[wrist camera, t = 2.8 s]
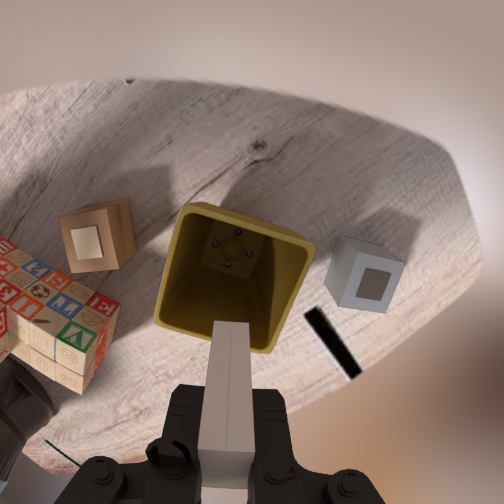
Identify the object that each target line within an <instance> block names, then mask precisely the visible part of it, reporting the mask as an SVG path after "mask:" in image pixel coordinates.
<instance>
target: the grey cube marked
mask: <svg viewBox="0 0 504 504" xmlns="http://www.w3.org/2000/svg"><path fill="white" fill-rule="evenodd" d="M405 264H406V263H405V262H403V261H402V260H401V259H399V258H398V257H397V256H395V255H394V254H392V253H391V252H390V251H388V250H387V249H386V248H384V247H383V246H380V245H376V244H372V243H368V242H365V241H361V240H357V239H353V238H349V237H345V236H341V235H339V237H338V240H337V243H336V246H335V249H334V253H333V256H332V259H331V262H330V265H329V268H328V271H327V274H326V277H325V280H324V284H325V286H326V287H327V289H328V290H329V292H330V294H331V295H332V297H333V299H334V300H335V302H336V304H337V305H338V307H344V308H351V309H357V310H364V311H371V312H378V313H386V311H387V309H388V306H389V304H390V302H391V299H392V297H393V295H394V292H395V290H396V287H397V285H398V282H399V280H400V277H401V275H402V272H403V269H404V267H405Z"/></svg>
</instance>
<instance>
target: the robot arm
mask: <svg viewBox="0 0 504 504" xmlns="http://www.w3.org/2000/svg"><path fill="white" fill-rule="evenodd" d="M53 412H54V410H53V406H52V403H51V401H50V399H49V397H48V396H47V394H46V392H45V391H44V390H43V388H42V387H41V386H40V385H39V383H38V382H37V381H36V380H35V379H34V378H33V377H32V376H31V375H30V374H29V373H28V372H27V371H26V370H25V369H24V368H23V367H21V366H20V365H19V364H18V363H16V362H15V361H13V360H12V359H10V358H8V357H6V358H5V359H4V360H3V361H2V362H1V363H0V494H1V492H2V490H3V489H4V487H5V485H7V483H8V482H7V481H8V478H9V476H10V474H11V472H12V469H13V467H14V465H15V463H16V461H17V459H18V457H19V455H20V453H21V451H22V449H23V447H24V445H25V444H26V442H27V440H28V439H29V438H30V437H31V436H33V435H34V434H35V433H36V432H37V431H38V430H40V429H41V428H42V427H44V426H46V425H47V424H48V423H49V421H50V419H51V417H52V416H53ZM145 452H146V455H147V457H148V460H146V461H144V462H140V463H129V464H119V463H117V462H116V461H115V460H113V459H112V458H109V457H106V456H95V457H92V458H89V459H88V460H87V461H85V462H84V463H83V464H82V466H81V467H80V468H79V470H78V471H77V472H76V474H75V475H74V477H73V478H72V479H71V481H70V482H69V483H68V485H67V486H66V488H65V489H64V490H63V492H62V493H61V494H60V496H59V497H58V499H57V500H56V501H55V502H54V504H201V487H212V488H228V489H247V488H248V501H247V504H385V502H384V501H383V499H382V498H381V496H380V495H379V493H378V492H377V490H376V489H375V487H374V486H373V484H372V483H371V481H370V480H369V478H368V477H367V476H366V475H365V474H364V473H362V472H360V471H358V470H353V469H346V470H341V471H339V472H337V473H335V474H333V475H328V474H322V473H316V472H312V471H309V470H307V469H304V468H303V467H302V466H300V465H299V464H298V463H297V461H296V460H295V458H294V455H293V450H292V444H291V438H290V431H289V425H288V422H287V413H286V407H285V401H284V398H283V397H282V395H281V394H280V393H279V391H278V390H277V389H252V380H251V359H250V337H249V323H240V322H225V321H214V326H213V333H212V340H211V347H210V354H209V361H208V369H207V376H206V384H205V386H194V385H185V384H179V385H178V387H177V388H176V389H175V390H174V391H173V392H172V395H171V399H170V403H169V407H168V411H167V415H166V419H165V424H164V428H163V432H162V437H161V438H158V439H155V440H154V441H153V442H151V443H150V444H149V445H148V447H147V449H146V451H145Z"/></svg>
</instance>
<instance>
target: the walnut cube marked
mask: <svg viewBox="0 0 504 504" xmlns="http://www.w3.org/2000/svg"><path fill="white" fill-rule="evenodd" d="M58 220H59V225H60V229H61V234H62V238H63V243H64V247H65V251H66V255H67V258H68V262H69V266H70V269H71V273H82V272H93V271H104V270H115V269H120V268H121V267H122V266H123V265H124V263H125V262H126V261H127V260H128V259H129V258H130V257H131V256H132V255H133V254H134V253H135V252H136V251H137V250H138V249H137V244H136V239H135V234H134V228H133V223H132V217H131V212H130V205H129V199H123V200H117V201H111V202H106V203H100V204H95V205H90V206H85V207H82V208H80V209H77V210H75V211H73V212H70V213H68V214H66V215H63V216H61V217H59V218H58Z"/></svg>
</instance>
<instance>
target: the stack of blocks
mask: <svg viewBox="0 0 504 504" xmlns="http://www.w3.org/2000/svg"><path fill="white" fill-rule="evenodd" d="M119 309H120V304H119V303H116V302H114V301H112V300H110V299H108V298H106V297H104V296H102V295H100V294H97V293H96V292H95V291H93V290H91V289H90V288H88V287H86V286H84V285H82V284H80V283H78V282H76V281H74V280H72V279H71V278H69V277H67V276H65V275H64V274H62V273H60V272H58V271H56V270H55V269H54V270H53V269H52V268H50V267H49V266H47V265H45V264H43V263H42V262H40V261H38V260H37V259H34V258H33V257H31V256H30V255H28V254H26V253H25V252H23V251H21V250H20V249H18V248H17V247H16V246H14V245H13V244H11V243H10V242H8V241H7V240H5V239H4V238H2V237H1V236H0V363H1V362H2V361H3V360H4V359H5V358H6V357H7V355H8V354H9V353H10V352H11V353H12V354H14V355H15V356H17V357H18V358H20V359H21V360H23V361H24V362H26V363H27V364H29V365H31V366H32V367H33V368H34V369H36V370H38V371H39V372H41V373H42V374H44V375H46V376H47V377H49V378H51V379H52V380H54V381H57V382H58V383H60V384H62V385H63V386H65V387H67V388H69V389H70V390H72V391H74V392H76V393H78V394H80V395H82V394H83V393H84V391H85V389H86V387H87V386H88V384H89V382H90V380H91V379H92V376H94V374H95V372H96V371H97V369H98V367H99V365H100V363H101V362H102V360H103V358H104V356H105V354H106V352H107V351H108V349H109V347H110V345H111V343H112V338H113V334H114V329H115V325H116V322H117V318H118V314H119Z"/></svg>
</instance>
